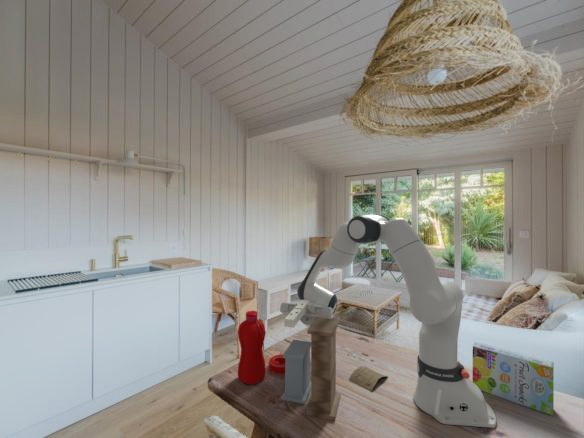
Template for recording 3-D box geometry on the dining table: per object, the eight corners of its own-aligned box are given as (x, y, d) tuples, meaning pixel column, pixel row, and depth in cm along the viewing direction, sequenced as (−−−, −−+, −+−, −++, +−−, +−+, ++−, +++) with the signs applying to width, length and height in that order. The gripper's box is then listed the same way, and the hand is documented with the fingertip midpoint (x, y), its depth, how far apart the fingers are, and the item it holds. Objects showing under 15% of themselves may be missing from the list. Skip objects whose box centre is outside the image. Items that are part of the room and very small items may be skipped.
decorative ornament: (296, 364, 116) (296, 357, 116) (286, 376, 107) (286, 368, 107) (276, 359, 120) (276, 352, 120) (264, 370, 111) (264, 362, 111)
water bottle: (254, 390, 98) (253, 319, 98) (234, 379, 105) (234, 312, 105) (272, 379, 105) (272, 312, 105) (252, 368, 112) (252, 306, 112)
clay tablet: (371, 394, 97) (371, 386, 97) (346, 382, 104) (346, 375, 104) (389, 377, 107) (389, 370, 107) (365, 367, 114) (365, 361, 114)
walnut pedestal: (340, 396, 95) (340, 319, 95) (335, 421, 83) (335, 333, 83) (314, 391, 98) (314, 316, 97) (305, 414, 86) (305, 330, 86)
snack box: (553, 408, 89) (553, 360, 89) (553, 417, 85) (553, 367, 85) (475, 381, 104) (475, 340, 104) (471, 388, 100) (471, 345, 99)
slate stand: (313, 383, 102) (313, 342, 102) (304, 404, 91) (304, 358, 91) (292, 379, 105) (292, 339, 105) (281, 399, 93) (281, 354, 93)
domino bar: (309, 306, 108) (309, 300, 108) (293, 327, 88) (293, 319, 88) (302, 305, 109) (302, 299, 109) (284, 326, 89) (284, 318, 89)
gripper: (286, 303, 119) (276, 295, 107) (335, 308, 113) (330, 300, 101) (284, 319, 116) (273, 312, 104) (333, 325, 110) (328, 318, 98)
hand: (301, 306), depth 103 cm, fingers closed on domino bar, 3 cm apart
